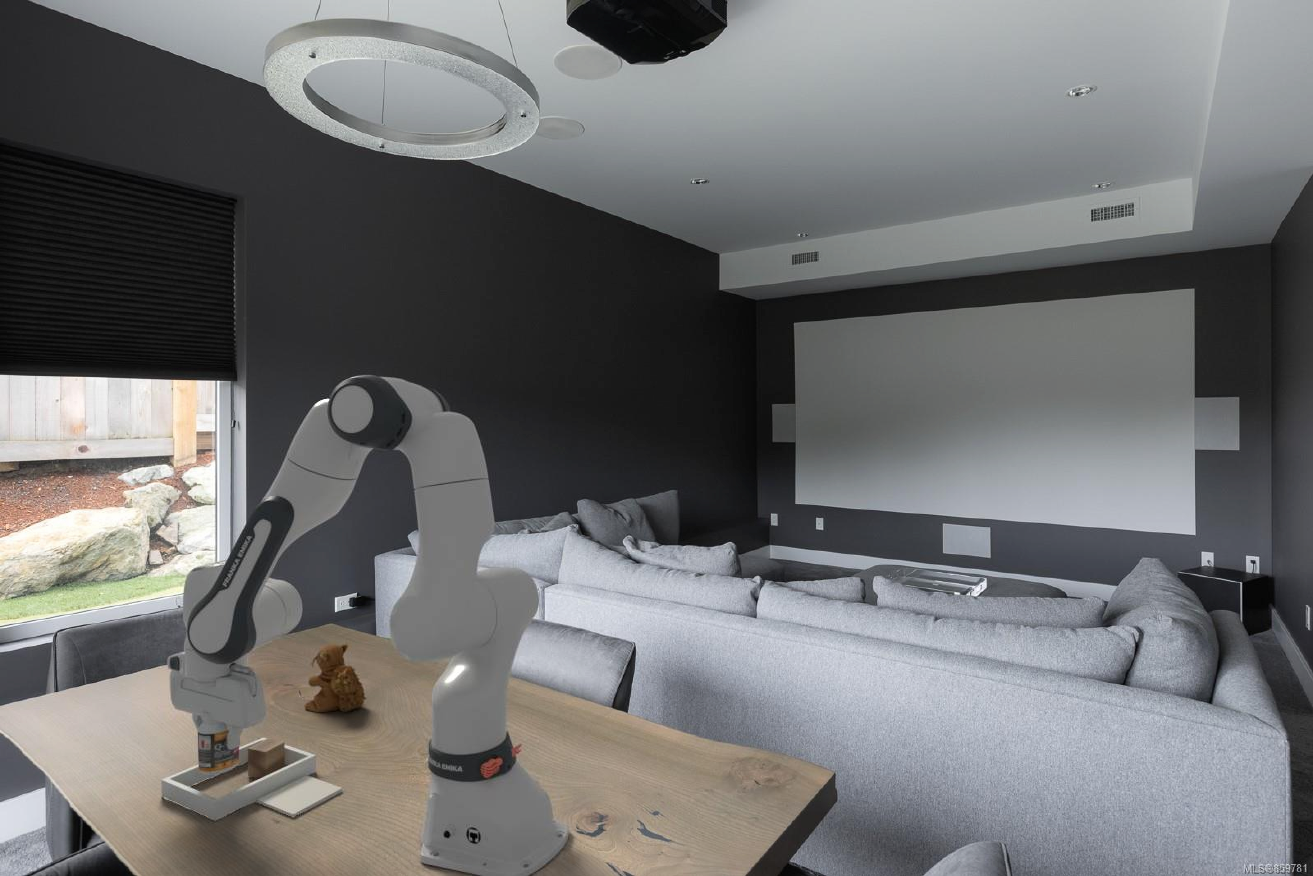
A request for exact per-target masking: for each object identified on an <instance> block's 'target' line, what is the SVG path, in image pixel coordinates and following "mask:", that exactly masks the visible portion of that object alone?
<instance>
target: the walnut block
mask: <svg viewBox="0 0 1313 876" xmlns="http://www.w3.org/2000/svg"><path fill="white" fill-rule="evenodd" d="M285 745H286V744H285V741H280V740H276V739H275V740H274V739H271V738H270V739H269V738H267V739H265V740H263V741H261V742H260V743H258V744H256V745H254V746H252V747H250V748H248V763H247V777H248V776H251V777H250V778H252V777H254V778H253V779H257V778H263V777H265V776H267V775H269V774H271V773H273V772H275V771H278V770H280V769H282V768H284V767H286V764H285Z"/></svg>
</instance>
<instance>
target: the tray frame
mask: <svg viewBox="0 0 1313 876" xmlns="http://www.w3.org/2000/svg"><path fill="white" fill-rule="evenodd" d="M265 739H268V738H266V737H261V738H259V739H256V740H253V741H252V742H250V743H247V744H244V745H242V746H239V763H238V765H237V766H239V765H241V766H243V765H245V763H246V764H248V763H247V762H248V748H250V747H252V746H254V745H256V744H258V743H260V742H261V741H263V740H265ZM316 757H317V756H316V754H313V753H310V752H308V751H305V750H302V749H299V748H296V747H293V746H290V745H287V744H285V767H284V768H282V769H280V770H278V771H275V772H273V773H271V774H269V775H267V776H265V777H263V778H260V779H257V780H254V781H252V782H250V783H248V784H246V785H243V786H241V787H240V788H237V789H235V790H233V791H231V792H229V793H226V794H224V795H222V796H220V797H217V798H216V797H215V796H212V795H210V794H207V793H204V792H202V791H200V790H197V789H195V788H193V787H191V788H190V787H189V786H192V785H193V784H195V783H199V782H201V781H203V780H205V779H207V778H211V777H213V776H215V775H204V774H201V773H200V772H199V764H196V765H194V766H191V767H189V768H187V769H186V768H185V769H184V770H181V771H180V772H177V773H174V774H173V775H170V776H167V777H165V778H162V779H161V798H162V797H166V798H168V799H169V800H172V801H175V802H177V803H179V804H181V805H183V806H185V807H188V808H190V809H191V810H195V811H197V812H199V813H201V814H203V815H206V816H208V817H209V818H211V819H213V820H217V819H219V820H221V819H220V817H223V816H225V815H227V814H229V813H231V812H233V811H234V810H238V809H239V808H242V807H244V806H246V807H248V806H250V805H251V804H250V803H252V802H254V801H256V802H257V799H259V798H261V797H264V796H266V795H268V794H270V793H272V792H274V791H276V790H278V789H280V788H282V787H284V786H286V785H288V784H290V783H292V782H294V781H296V780H298V779H300V778H302V777H304V776H306V775H309V776H311V775H313V774H315V773H317V758H316ZM239 767H240V766H239ZM310 774H311V775H310ZM211 779H212V778H211ZM254 803H255V802H254ZM249 804H250V805H249ZM252 804H253V803H252ZM247 805H248V806H247ZM244 808H245V807H244ZM242 809H243V808H242ZM238 811H239V810H238ZM225 817H226V816H225ZM223 818H224V817H223ZM211 819H210V820H211ZM213 820H212V821H213ZM217 821H218V820H217Z"/></svg>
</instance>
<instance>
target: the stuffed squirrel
mask: <svg viewBox="0 0 1313 876" xmlns="http://www.w3.org/2000/svg"><path fill="white" fill-rule="evenodd" d="M348 647H349V644H346V643H344V644H342V645H340V644H339V645H338V644H328V645H325V646H324V647H322V648H321V649H320V650H319V651H318V652H317V654H316V656H315V657H313V659H312V661H311V663H310V665H309V667H310V666H311V667H312V668H313V667H314V663H315V662H316V664H317V666H318V667H319V670H320V671H321V672H320V673H319V674H317V675H314V674H313V675H311V676H310V677H309V679H308V685H309V687H312V688H316V687H320V689H319V691H318V693H317V694H314V695H315V696H313V699H311V700H309V701H306V703H305V704H304V709H305V710H308V711H311V712H315V713H326V712H327V713H329V712H333V711H337V710H339V711H341V712H347V713H348V712H350V711H353V710H356V709H359V708H360V707H362V706H363V705H364V702H365V700H366V699H367V697H366V696H365V692H364V690H365V689H364V686H363V683H362V682H361V681H360V678H359V677H358V676H359V675H358V674H357V673H356V672H355V671H356V668H354V667H353V666H352V665H346V664H345V658H344V654H345V653H346V652H347V649H348Z"/></svg>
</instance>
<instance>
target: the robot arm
mask: <svg viewBox="0 0 1313 876" xmlns="http://www.w3.org/2000/svg"><path fill="white" fill-rule="evenodd" d="M374 449H376V450H382V451H388V452H390V451H399V452H402V453H403V454H404V456H406V457H407V460H408V462H409V464H410V469H411V474H412V475H411V476H412V481H413V483H412V484H413V489H414V490H413V491H414V500H415V507H416V509H415V510H416V516H417V517H416V518H417V529H418V548H417V555H416V559H415V564H414V568H413V571H412V574H411V578H410V580H409V582H408V585H407V587H406V588H405V590H404V591H403V593H402V594H401V596H400V597H399V599H398V600H396V602H395V603H394V605H393V607H392V609H391V613H390V616H389V621H388V631H389V632H388V633H389V637H390V639H391V643H392V645H393V647H394V648H395V650H396V651H397V653H398V654H400V656H402V657H403V659H404V660H407V661H408V662H410V663H414V664H420V663H421V664H422V663H431V662H438V661H445V660H449V659H450V661H449V663H448V664H447V667H446V668H445V670H444V671H443V672H442V674H441V675H440V676H439V677H438V679H437V680H436V682H435V684H434V687H433V689H432V691H431V704H430V705H431V707H430V708H431V709H430V710H431V711H430V712H431V717H430V718H431V728H430V729H431V732H430V733H431V737H430V739H429V741H428V752H427V761H428V762H427V763H428V766H427V768H428V770H429V771H430V776H429V777H430V778H429V787H428V795H427V803H426V810H425V815H424V820H423V824H422V827H421V830H420V833H419V840H420V844H421V849H420V854H419V855H420V856H419V861H420V863H422V864H425V865H429V866H430V865H431V866H435V867H439V868H443V869H444V868H445V869H449V870H452V871H458V872H463V873H467V874H472V875H477V876H530V875H532V874H534V873H535V872H537V871H539V870H540V869H541V868H543V867H544V866H545V865H547V863H549V862H551V860H553V858H555V857H556V856H557V855H558V854H559V853H560V851H562V849H563V848H564V847H565V845H566V843H567V842H568V838H569V835H570V830H569V825H568V824H567V823H565V822H563V821H561V820H560V819H557V818H556V817H554V813H553V806H552V805H553V804H552V801H551V798H550V795H549V794H548V792H547V791H546V789H545V790H544V788H543V787H542V786H541V784H540V782H539V781H538V780H537V779H536V778H533V777H532V775H530V774H529V772H527V770H526V769H525V768H524V767H523V766H522V765H521V764H520V762H518V761H517V754H520V752H522V749H521V747H522V743H520V744H518V745H516V746H513V742H512V739H511V736H510V733H509V732H508V730H507V725H508V724H507V722H508V719H507V717H508V692H509V691H508V689H509V681H510V677H511V672H512V667H513V664H514V661H515V658H516V655H517V652H518V648H519V645H520V643H521V640H522V637H523V635H524V633H525V631H526V629H527V628H528V626H529V625H530V623H531V622H532V620H533V619H534V617H536V614H537V613H538V609H539V606H540V595H539V590H538V587H537V584H536V581H535V580H534V579H533V577H532V576H531V575H530V574H529V573H528V572H526V571H525V570H523V569H521V568H517V567H506V566H505V567H502V566H501V567H497V566H496V567H490V568H485V569H482V570H479V571H478V567H479V566H478V565H479V561H480V560H479V559H480V556H481V554H482V550H483V548H484V546H485V545H486V543H487V542H488V541H489V539H490V538H491V537H492V535H493V533H494V532H495V526H496V525H495V524H496V523H495V516H494V510H493V509H494V508H493V507H494V506H493V501H492V494H491V487H490V480H489V473H488V467H487V462H486V458H485V454H484V451H483V447H482V444H481V439H480V437H479V434H478V431H477V429H476V425H475V424H474V423H473V420H472V419H470V418H469V417H468V416H466V415H464V414H462V413H459V412H454V411H451V408H450V406H449V403H448V401H447V400H446V399H445V397H443V395H442V394H441V393H439V392H438V391H437V390H435V389H433V388H431V387H428V386H426V385H423V384H416V383H414V382H410V381H408V380H404V379H403V378H397V377H387V376H379V375H378V376H377V375H374V374H363V375H356V376H352V377H349V378H347V379H345V380H342V381H341V382H340V383H338V384H337V385H336V387H334V389H333V391H332V392H331V393H330V396H329V398H326V399H322V400H320V401H318V402H316V403H315V404H314V405H313V406H312V407H311V409H310V410H309V412H308V413H307V415H306V416H305V418H304V419H303V421H302V423H301V424H300V426H299V427H298V430H297V431H296V433H295V435H294V437H293V439H292V441H291V443H290V445H289V448H288V450H287V452H286V455H285V456H284V457H285V458H284V459H283V462H282V464H281V467H280V469H279V471H278V473H277V475H276V477H275V479H274V480H273V482H272V484H271V486H270V487H269V489H268V491H267V492H266V494H265V495H264V497H263V498H262V500H261V501H260V503H259V504H258V505H257V506H256V508H255V509H254V510H253V512H252V514H251V515H250V516H249V518H248V520H247V522H246V524H245V525H244V526H243V529H242V530H241V533H239V536H238V538H237V540H236V542H235V544H234V546H233V548H232V549H231V551H230V554H229V555H228V558H227V559H225V560H219V561H215V562H212V563H206V564H203V565H199V566H196V567H194V568H193V569H191V570H190V571H189V572H188V573H187V576H186V579H185V580H184V585H183V595H182V621H183V623H184V626H185V629H186V635H185V639H184V642H183V651H181V652H179V653H176V654H172V655H170V656H168V657H167V661H166V664H167V668H168V669H169V670H171V671H170V672H169V694H170V700H171V704H172V705H173V706H172V707H173V708H174V709H175V710H178V711H182V712H185V713H188V714H192V722H193V723H194V726H195V728H196V730H197V731H198V728H199V726H200V725H201V724H202V723H203V720H202V719H201V712H202V711H203V712H207V713H210V714H212V717H213V720H216V721H219V722H222V723H226V724H227V729H229V732H228V736H227V737H225V738H224V747H225V748H228V749H231V750H232V749H234V748H237V747H240V745H241V735H242V734H243V733H242V732H243V731H244V729H248V728H251V727H254V726H256V725H259V724H260V723H262V722H263V721H264V719H265V718H266V715H267V714H266V713H267V711H266V697H265V691H264V687H263V683H262V679H261V678H260V677H259V676H258V675H257V674H256V672H255V671H254V668H253V667H250V666H248V665H249V664H248V661H249V660H248V654H249V653H250V652H252V651H254V650H256V649H259V648H261V647H263V646H265V645H267V644H270V643H271V642H273V641H274V640H276V639H279V638H281V637H283V636H285V635H287V634H288V633H289V632H292V631H293V630H294V629H296V627H297V626H298V625H299V624H300V623H301V621H302V618H303V614H304V602H303V601H304V600H303V598H302V595H301V593H300V591H299V590H298V588H296V586H294V585H293V584H292V583H291V582H289V581H287V580H284V579H277V578H276V579H275V578H272V577H270V576H271V575H272V573H273V571H274V569H275V567H276V564H277V562H278V560H279V559H280V557H281V556H282V554H283V553H284V551H285V550H287V548H289V546H291V544H292V543H294V542H295V541H296V540H298V539H299V538H300V537H301V536H303V535H304V534H306V533H307V532H309V531H310V530H312V529H314V528H315V527H317V526H320V525H321V524H323V523H324V522H326V521H328V520H330V519H331V518H333V517H335V516H336V515H337V514H338V513H339V512H340V511H341V510H342V509H343V507H344V505H345V504H346V502H347V501H348V500H349V498H350V496H351V494H352V493H353V490H354V488H355V485H356V484H357V483H356V482H357V480H358V479H359V475H360V472H361V471H362V468H363V465H364V462H365V460H366V458H367V456H368V455H369V453H370V452H371V451H372V450H374Z"/></svg>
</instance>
